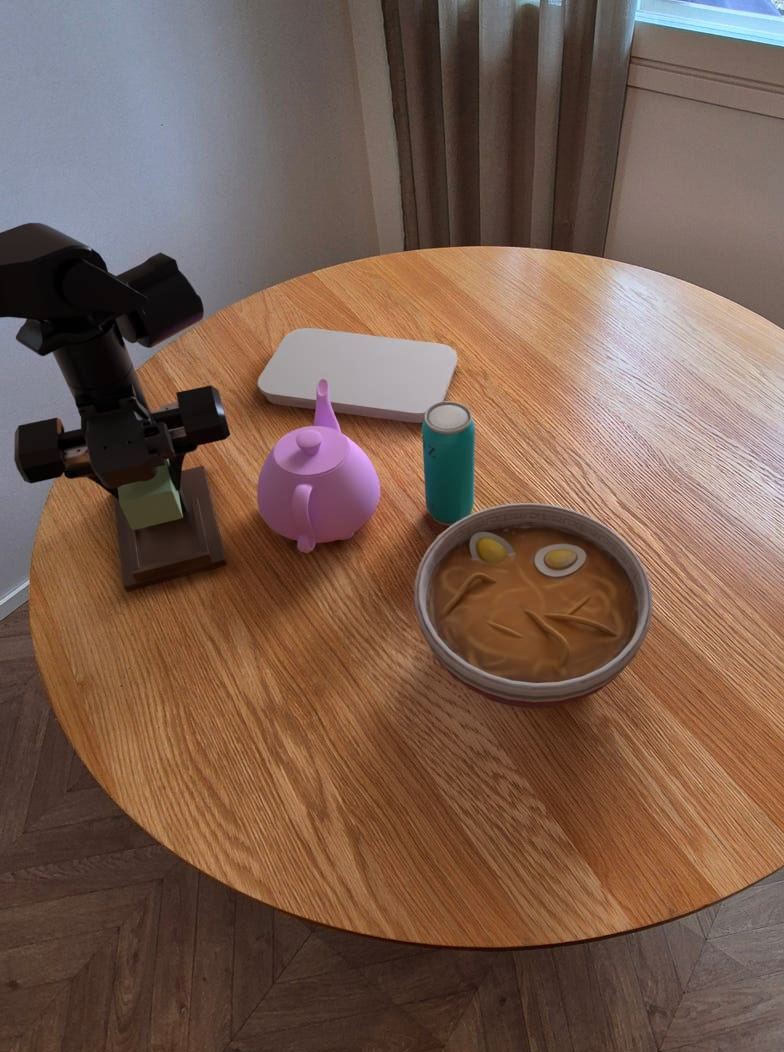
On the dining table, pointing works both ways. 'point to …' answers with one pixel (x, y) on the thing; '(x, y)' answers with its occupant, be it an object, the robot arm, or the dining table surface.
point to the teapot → (317, 482)
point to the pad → (151, 500)
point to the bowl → (532, 604)
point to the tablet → (359, 373)
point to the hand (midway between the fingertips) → (151, 494)
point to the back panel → (172, 538)
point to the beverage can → (448, 461)
